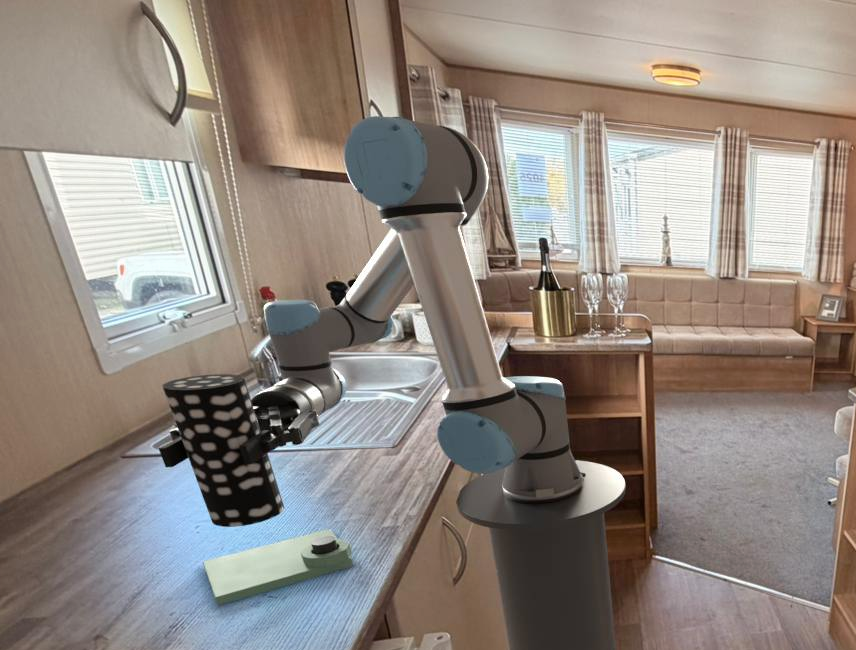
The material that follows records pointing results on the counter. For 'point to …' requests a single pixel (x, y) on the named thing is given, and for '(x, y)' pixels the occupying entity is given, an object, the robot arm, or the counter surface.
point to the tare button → (324, 545)
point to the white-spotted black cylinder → (224, 448)
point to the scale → (273, 567)
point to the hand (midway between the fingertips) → (206, 456)
